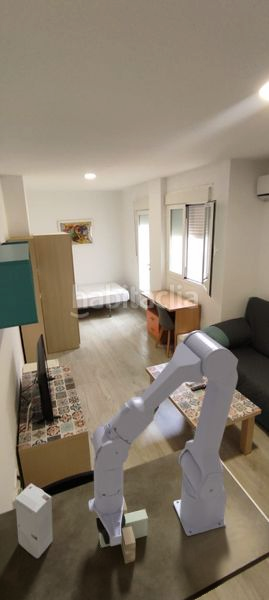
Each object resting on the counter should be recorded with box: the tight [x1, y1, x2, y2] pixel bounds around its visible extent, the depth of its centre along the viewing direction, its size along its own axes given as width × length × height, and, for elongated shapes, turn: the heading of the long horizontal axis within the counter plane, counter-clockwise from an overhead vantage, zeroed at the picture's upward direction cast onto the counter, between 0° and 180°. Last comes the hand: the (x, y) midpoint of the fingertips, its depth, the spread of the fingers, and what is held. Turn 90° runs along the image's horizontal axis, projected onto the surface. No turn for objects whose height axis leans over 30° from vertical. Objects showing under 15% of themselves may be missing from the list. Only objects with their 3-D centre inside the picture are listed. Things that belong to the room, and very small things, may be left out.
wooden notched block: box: [120, 495, 137, 564], centre depth 62 cm, size 2×10×5 cm, turn 15°
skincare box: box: [15, 483, 54, 559], centre depth 59 cm, size 6×4×12 cm
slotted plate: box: [98, 508, 149, 548], centre depth 62 cm, size 10×2×5 cm, turn 105°
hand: (108, 534), depth 61 cm, fingers closed
